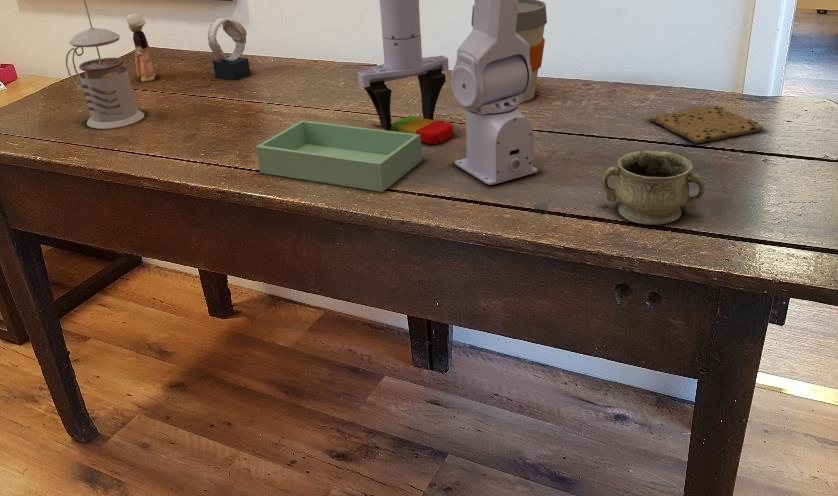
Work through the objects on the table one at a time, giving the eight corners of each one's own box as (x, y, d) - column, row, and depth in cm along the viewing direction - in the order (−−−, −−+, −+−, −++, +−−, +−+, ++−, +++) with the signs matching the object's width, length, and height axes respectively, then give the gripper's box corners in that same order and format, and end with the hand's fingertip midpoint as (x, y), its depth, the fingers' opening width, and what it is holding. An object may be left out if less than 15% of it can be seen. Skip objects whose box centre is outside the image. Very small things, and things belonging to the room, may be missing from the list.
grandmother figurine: (138, 75, 164) (122, 11, 157) (157, 72, 165) (142, 8, 158) (138, 85, 158) (122, 18, 151) (158, 82, 158) (143, 16, 152)
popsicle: (435, 146, 120) (434, 134, 119) (360, 130, 128) (359, 118, 127) (456, 135, 124) (456, 123, 123) (382, 120, 132) (381, 108, 131)
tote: (421, 161, 116) (420, 134, 113) (382, 192, 107) (380, 164, 105) (305, 145, 124) (302, 120, 122) (260, 172, 115) (255, 146, 113)
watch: (257, 71, 161) (248, 15, 156) (228, 82, 156) (218, 24, 150) (237, 68, 164) (228, 13, 158) (208, 79, 159) (197, 21, 153)
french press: (121, 130, 134) (79, -28, 121) (65, 126, 138) (19, -29, 125) (155, 111, 142) (120, -39, 129) (102, 107, 146) (62, -39, 133)
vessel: (593, 221, 96) (597, 172, 93) (606, 192, 103) (609, 145, 100) (698, 232, 92) (705, 182, 89) (703, 201, 99) (710, 153, 96)
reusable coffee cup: (543, 106, 133) (546, 13, 125) (468, 106, 135) (466, 14, 127) (546, 84, 144) (548, -4, 136) (476, 84, 146) (475, -2, 138)
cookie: (712, 107, 128) (713, 101, 127) (764, 130, 118) (765, 124, 118) (647, 119, 125) (648, 113, 124) (695, 144, 115) (696, 137, 114)
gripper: (431, 22, 124) (435, 108, 131) (345, 37, 119) (354, 126, 126) (454, 30, 119) (457, 119, 126) (365, 47, 113) (374, 139, 120)
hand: (407, 123), depth 125 cm, fingers open, 7 cm apart
